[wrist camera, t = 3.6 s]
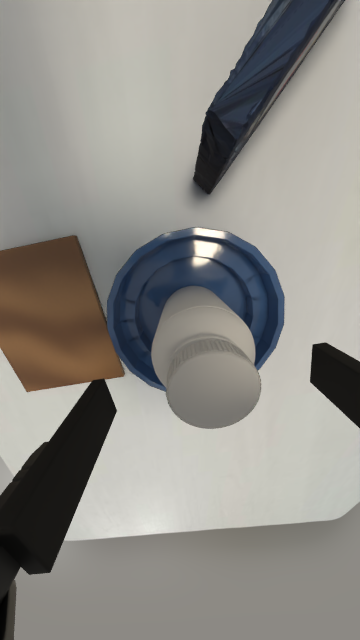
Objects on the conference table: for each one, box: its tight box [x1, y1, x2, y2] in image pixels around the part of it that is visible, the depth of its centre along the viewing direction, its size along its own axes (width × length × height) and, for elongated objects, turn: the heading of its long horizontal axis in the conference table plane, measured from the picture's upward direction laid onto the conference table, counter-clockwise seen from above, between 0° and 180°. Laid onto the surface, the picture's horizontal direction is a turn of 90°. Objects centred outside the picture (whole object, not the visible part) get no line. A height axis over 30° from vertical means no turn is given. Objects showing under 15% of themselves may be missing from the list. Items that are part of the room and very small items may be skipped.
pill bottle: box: [151, 286, 261, 429], centre depth 17 cm, size 8×8×15 cm
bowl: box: [107, 227, 284, 392], centre depth 22 cm, size 19×19×5 cm
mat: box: [0, 235, 125, 392], centre depth 24 cm, size 20×16×1 cm
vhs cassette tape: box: [193, 0, 345, 194], centre depth 12 cm, size 18×3×10 cm, turn 141°
